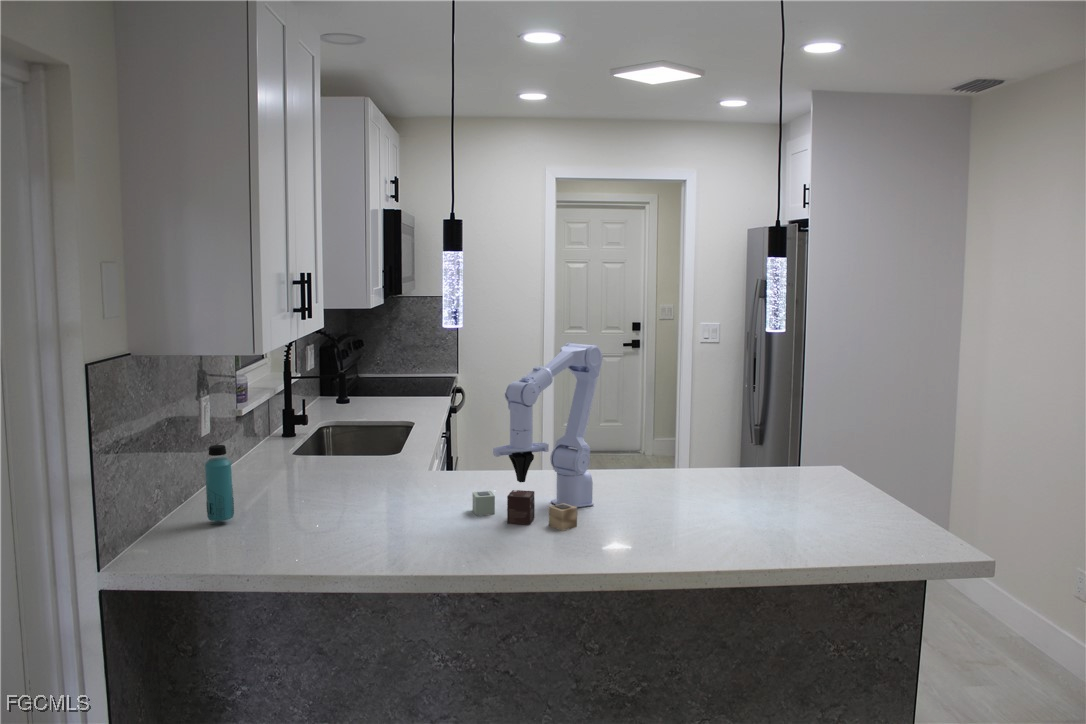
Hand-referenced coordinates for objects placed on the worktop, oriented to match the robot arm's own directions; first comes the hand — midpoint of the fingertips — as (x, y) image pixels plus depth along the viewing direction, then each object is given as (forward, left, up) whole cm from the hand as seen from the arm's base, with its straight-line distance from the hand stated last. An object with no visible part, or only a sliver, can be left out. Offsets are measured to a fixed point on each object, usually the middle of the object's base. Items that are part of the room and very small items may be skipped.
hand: (521, 481), depth 218 cm
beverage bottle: (+70, -29, -11) cm, 77 cm away
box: (0, 0, -11) cm, 11 cm away
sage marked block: (+6, -11, -10) cm, 16 cm away
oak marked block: (-8, +8, -10) cm, 15 cm away
